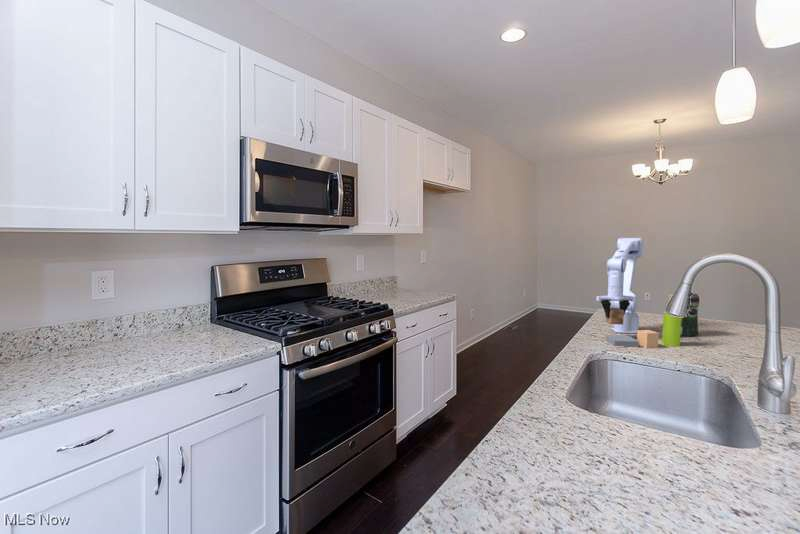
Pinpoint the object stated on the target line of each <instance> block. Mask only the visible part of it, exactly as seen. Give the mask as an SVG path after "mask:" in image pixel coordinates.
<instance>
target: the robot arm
mask: <svg viewBox="0 0 800 534" xmlns="http://www.w3.org/2000/svg"><path fill="white" fill-rule="evenodd" d="M616 247H617V250H616V251H615V253H613V256H612V257H611V258H610V259H609V258H608V259H607V262H606V270H607V273H606V274H607V277H608V279H607V280H608V281H607V283H608V284H607V295H596V299H595V300H596V301H597V302H600V304H601V306H602V308H603V309H604V314H605V315H604V316H605V318H606V317H607V318H609V317H610V308H620V309H622V310H624V318H623V324H613V327H609V329H610V330H612V331H614V332H615V333H618V334H621V333H622V334H637V333H638V330H640V329H639V328H640V327H639V325H640V323H639V322H640V318H639V314H638V313H637V308H638V297H637V295H636V294H635V293H633V292H632V287H633V282H634V276H635V269H636V263H637V260H638V259H640V258H641V257H642V255H643V252H644V239H643V238H642V237H618V239H617V245H616Z"/></svg>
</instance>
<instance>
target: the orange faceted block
mask: <svg viewBox="0 0 800 534" xmlns="http://www.w3.org/2000/svg"><path fill="white" fill-rule="evenodd" d="M636 335H637V336H636V337H637V339H636V340H637V341H639V345H640V346H639V347H642V346H643V347H642V348H644V347H646V348H645V349H658V348H659V332H657V331H654V330H650V329H641V330H640V329H638V333H636Z"/></svg>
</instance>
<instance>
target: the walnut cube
mask: <svg viewBox="0 0 800 534" xmlns="http://www.w3.org/2000/svg"><path fill="white" fill-rule="evenodd" d="M623 318H624V310H622V309H620V308H611V307H610V317H609V318H607V317H606V316H605V322H606V323H607V324H610V325H614V324H623Z"/></svg>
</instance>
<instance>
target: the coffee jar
mask: <svg viewBox="0 0 800 534" xmlns="http://www.w3.org/2000/svg"><path fill="white" fill-rule="evenodd" d="M699 305H700V296H699V295H698V294H697V293H692V297H691V305H690V309H689V311H688V313H687V317H684V318H681V332H680V337H681V336H683V337H695V336H698V335H699V323H698V322H699V320H698V319H699V318H698V317H699V316H698V312H699V311H698V310H699Z"/></svg>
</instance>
